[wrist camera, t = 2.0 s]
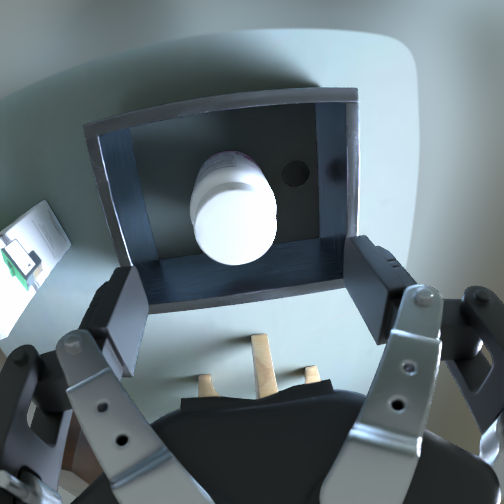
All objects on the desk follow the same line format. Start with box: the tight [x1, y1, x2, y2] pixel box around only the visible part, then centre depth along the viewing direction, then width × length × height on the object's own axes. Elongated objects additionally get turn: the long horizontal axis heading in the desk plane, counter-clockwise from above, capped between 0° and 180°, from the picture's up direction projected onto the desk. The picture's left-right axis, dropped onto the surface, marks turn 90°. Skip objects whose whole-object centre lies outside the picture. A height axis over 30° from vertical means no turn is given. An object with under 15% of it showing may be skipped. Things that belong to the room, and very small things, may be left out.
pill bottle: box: [190, 151, 277, 265], centre depth 19 cm, size 5×5×8 cm
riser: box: [59, 410, 104, 497], centre depth 30 cm, size 14×7×12 cm, turn 6°
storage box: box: [83, 87, 360, 314], centre depth 20 cm, size 15×13×6 cm
